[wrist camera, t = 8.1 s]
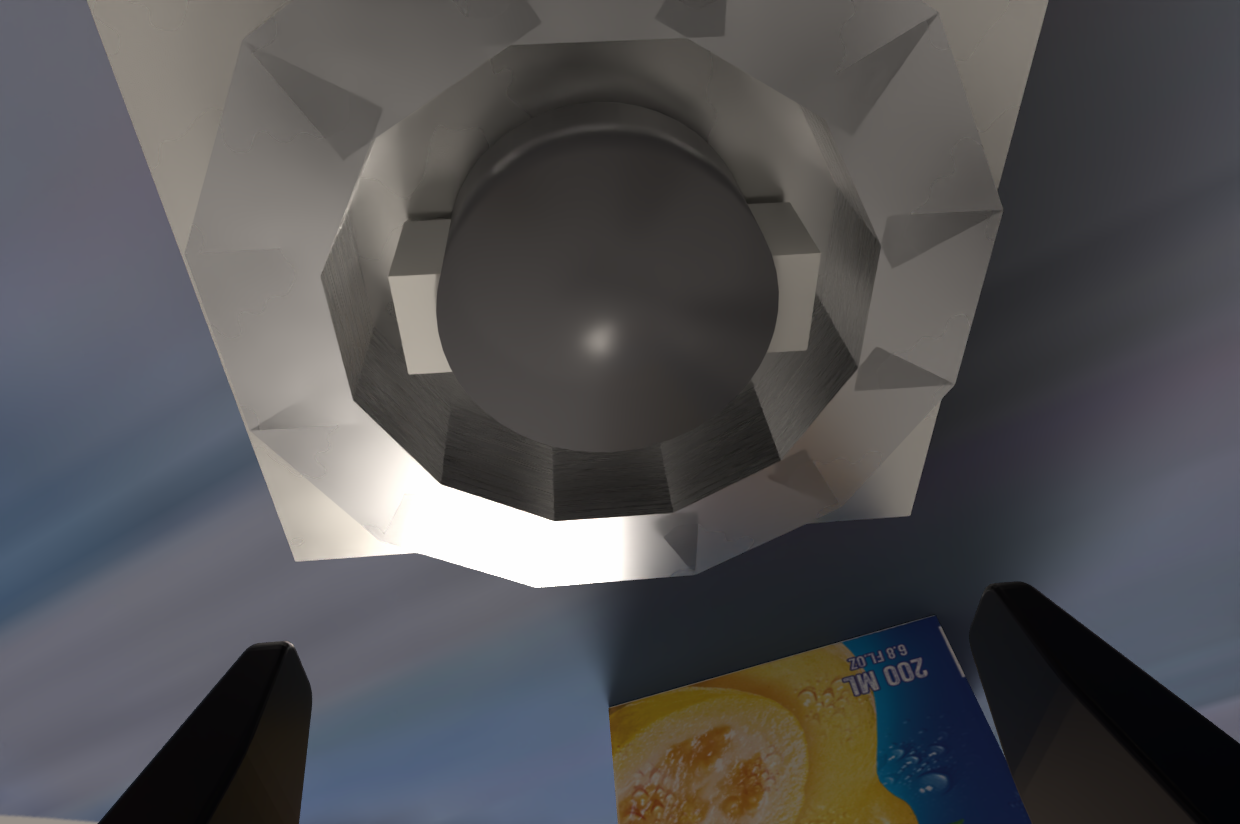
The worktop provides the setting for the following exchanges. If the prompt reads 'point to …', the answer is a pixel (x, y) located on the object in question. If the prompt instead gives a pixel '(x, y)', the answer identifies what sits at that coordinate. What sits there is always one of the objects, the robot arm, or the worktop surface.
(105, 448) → the worktop surface
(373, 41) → the grey faceted ring
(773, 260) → the cap
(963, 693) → the beverage box
